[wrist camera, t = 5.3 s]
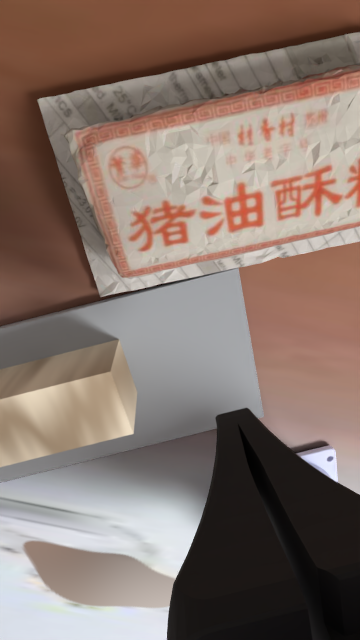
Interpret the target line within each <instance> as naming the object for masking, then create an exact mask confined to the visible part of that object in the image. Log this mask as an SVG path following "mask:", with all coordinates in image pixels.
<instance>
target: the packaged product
mask: <svg viewBox="0 0 360 640" xmlns="http://www.w3.org/2000/svg"><path fill="white" fill-rule="evenodd" d="M37 101H38V104H39V107H40V110H41V113H42V116H43V120H44V123H45V127H46V130H47V133H48V137H49V140H50V142H51V145H52V148H53V150H54V154H55V157H56V161H57V164H58V168H59V171H60V174H61V177H62V180H63V183H64V186H65V189H66V192H67V195H68V198H69V202H70V205H71V208H72V211H73V214H74V217H75V220H76V223H77V226H78V229H79V232H80V235H81V238H82V242H83V245H84V248H85V252H86V255H87V258H88V261H89V264H90V267H91V270H92V273H93V276H94V279H95V281H96V285H97V288H98V291H99V295H100V297H103V296H107V295H111V294H116V293H121V292H126V291H133V290H138V289H142V288H147V287H151V286H155V285H158V284H162V283H168V282H173V281H178V280H183V279H188V278H192V277H197V276H202V275H206V274H211V273H216V272H220V271H225V270H229V269H234V268H238V267H245V266H249V265H254V264H258V263H262V262H265V261H268V260H271V259H273V258H276V257H283V258H284V257H288V256H293V255H298V254H304V253H308V252H313V251H317V250H321V249H324V248H327V247H334V246H339V245H344V244H349V243H354V242H359V241H360V32H356V33H351V34H346V35H342V36H338V37H333V38H329V39H325V40H320V41H314V42H309V43H305V44H301V45H297V46H289V47H286V48H282V49H277V50H272V51H268V52H263V53H255V54H248V55H244V56H239V57H235V58H232V59H228V60H225V61H217V62H212V63H207V64H204V65H200V66H195V67H191V68H187V69H181V70H175V71H171V72H167V73H164V74H160V75H154V76H147V77H141V78H136V79H131V80H126V81H121V82H117V83H113V84H109V85H102V86H97V87H93V88H89V89H84V90H77V91H74V92H71V93H67V94H62V95H58V96H52V97H44V98H40V99H38V100H37Z"/></svg>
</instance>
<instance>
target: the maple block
mask: <svg viewBox="0 0 360 640" xmlns="http://www.w3.org/2000/svg"><path fill="white" fill-rule="evenodd" d="M136 402H137V390H136V387H135V384H134V381H133V378H132V375H131V372H130V369H129V366H128V364H127V361H126V358H125V355H124V352H123V349H122V346H121V343H120V340H119V339H118V340H114V341H110V342H106V343H102V344H98V345H94V346H90V347H86V348H83V349H79V350H75V351H71V352H67V353H63V354H59V355H55V356H51V357H47V358H43V359H39V360H35V361H31V362H27V363H24V364H20V365H16V366H12V367H8V368H4V369H0V467H3V466H7V465H11V464H15V463H19V462H23V461H27V460H31V459H35V458H39V457H43V456H47V455H51V454H55V453H59V452H63V451H67V450H71V449H75V448H79V447H83V446H87V445H91V444H95V443H99V442H103V441H107V440H111V439H115V438H119V437H123V436H127V435H131V434H134V424H135V413H136Z"/></svg>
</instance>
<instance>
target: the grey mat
mask: <svg viewBox="0 0 360 640" xmlns="http://www.w3.org/2000/svg"><path fill="white" fill-rule="evenodd" d="M118 339H119V340H120V343H121V346H122V349H123V352H124V355H125V358H126V361H127V364H128V366H129V369H130V372H131V375H132V378H133V381H134V384H135V387H136V390H137V402H136V413H135V424H134V434H131V435H127V436H123V437H119V438H115V439H111V440H107V441H103V442H99V443H95V444H91V445H87V446H83V447H79V448H75V449H71V450H67V451H63V452H59V453H55V454H51V455H47V456H43V457H39V458H35V459H31V460H27V461H23V462H19V463H15V464H11V465H7V466H3V467H0V483H1V482H5V481H9V480H13V479H17V478H21V477H25V476H29V475H33V474H37V473H41V472H45V471H49V470H53V469H57V468H61V467H65V466H69V465H73V464H77V463H81V462H85V461H89V460H93V459H97V458H101V457H105V456H109V455H113V454H117V453H121V452H125V451H129V450H133V449H137V448H141V447H145V446H149V445H153V444H157V443H161V442H165V441H169V440H173V439H177V438H181V437H185V436H189V435H193V434H197V433H201V432H205V431H209V430H213V429H217V424H216V419H215V418H216V416H217V415H219V414H223V413H227V412H231V411H235V410H239V409H243V408H249V409H250V410H251V411H252V413H253V414H254V415H255V416H256V417H257V418H261V417H264V414H263V408H262V402H261V396H260V391H259V385H258V379H257V373H256V367H255V362H254V356H253V350H252V344H251V338H250V333H249V327H248V321H247V315H246V310H245V304H244V298H243V292H242V286H241V281H240V275H239V269H238V268H234V269H229V270H225V271H220V272H216V273H211V274H206V275H202V276H197V277H192V278H188V279H184V280H180V281H176V282H172V283H168V284H164V285H160V286H157V287H153V288H149V289H145V290H141V291H137V292H133V293H129V294H125V295H121V296H117V297H113V298H110V299H106V300H102V301H98V302H94V303H90V304H86V305H82V306H78V307H74V308H70V309H67V310H63V311H59V312H55V313H51V314H47V315H43V316H39V317H35V318H31V319H27V320H23V321H20V322H16V323H12V324H8V325H4V326H0V369H4V368H8V367H12V366H16V365H20V364H24V363H27V362H31V361H35V360H39V359H43V358H47V357H51V356H55V355H59V354H63V353H67V352H71V351H75V350H79V349H83V348H86V347H90V346H94V345H98V344H102V343H106V342H110V341H114V340H118Z"/></svg>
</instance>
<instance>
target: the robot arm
mask: <svg viewBox="0 0 360 640" xmlns="http://www.w3.org/2000/svg"><path fill="white" fill-rule="evenodd" d="M215 419H216V424H217V445H216V456H215V463H214V470H213V476H212V481H211V485H210V490H209V494H208V498H207V501H206V505H205V508H204V511H203V515H202V518H201V521H200V524H199V526H198V529H197V532H196V534H195V537H194V539H193V542H192V544H191V547H190V550H189V552H188V554H187V556H186V559H185V561H184V563H183V565H182V567H181V569H180V571H179V573H178V575H177V577H176V580H175V582H174V584H173V590H172V595H171V601H170V608H169V615H168V629H167V640H360V495H359V494H357V493H355V492H354V491H352V490H350V489H348V488H347V487H345V486H343V485H341V484H339V483H338V477H337V464H336V452H335V450H334V448H333V447H332V446H324V447H320V448H316V449H312V450H308V451H304V452H300V453H295V452H293V451H292V450H291V449H290V448H288V447H287V446H286V445H285V444H284V443H283V442H281V441H280V440H279V439H278V438H277V437H276V436H275V435H274V434H273V433H272V432H270V431H269V430H268V429H267V428H266V427H265V426H264V425H263V424H262V423H261V421H260V420H259V419H258V418H257V417H256V416H255V415H254V414H253V413H252V411H251V410H250V409H249V408H243V409H239V410H235V411H231V412H227V413H223V414H219V415H217V416H216V418H215ZM329 456H330V457H329Z"/></svg>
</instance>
